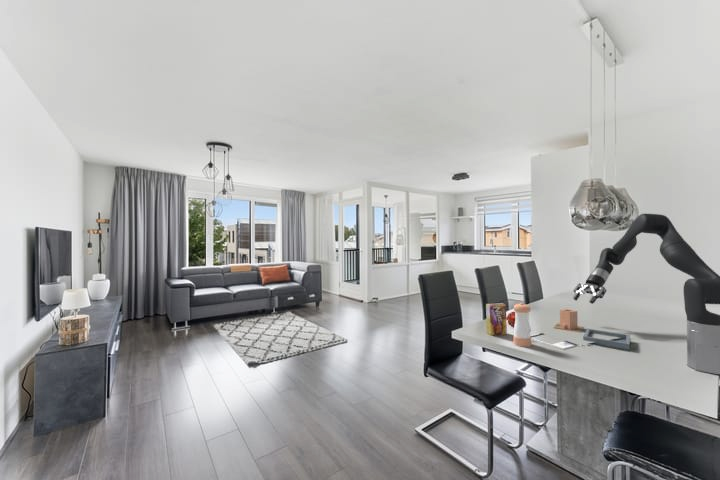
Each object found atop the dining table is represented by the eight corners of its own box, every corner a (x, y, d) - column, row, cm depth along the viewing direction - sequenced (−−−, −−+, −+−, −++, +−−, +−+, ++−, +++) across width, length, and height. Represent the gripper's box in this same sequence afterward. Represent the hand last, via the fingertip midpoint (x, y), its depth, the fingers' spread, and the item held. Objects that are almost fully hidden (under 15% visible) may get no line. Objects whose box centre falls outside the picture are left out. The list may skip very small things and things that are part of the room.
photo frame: (563, 347, 133) (525, 336, 149) (563, 350, 133) (525, 338, 149) (583, 342, 139) (545, 331, 155) (583, 345, 139) (545, 334, 155)
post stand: (581, 335, 151) (581, 318, 151) (553, 330, 159) (552, 314, 159) (584, 329, 160) (584, 313, 160) (557, 325, 168) (557, 310, 168)
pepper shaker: (521, 347, 136) (521, 304, 136) (509, 342, 143) (509, 301, 143) (535, 345, 138) (534, 303, 138) (522, 340, 145) (522, 300, 145)
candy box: (502, 332, 158) (502, 302, 158) (507, 334, 154) (506, 304, 154) (486, 332, 158) (485, 303, 157) (490, 335, 153) (490, 305, 153)
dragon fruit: (510, 325, 175) (523, 335, 163) (499, 317, 174) (511, 326, 162) (519, 313, 174) (532, 322, 162) (508, 305, 173) (521, 314, 161)
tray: (629, 351, 130) (629, 344, 130) (583, 342, 141) (583, 336, 140) (629, 341, 142) (629, 334, 142) (587, 334, 152) (587, 328, 152)
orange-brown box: (577, 328, 157) (577, 311, 157) (568, 329, 155) (567, 312, 155) (567, 325, 163) (567, 308, 163) (558, 326, 161) (558, 310, 161)
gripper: (581, 272, 172) (566, 294, 168) (608, 275, 158) (592, 298, 155) (587, 281, 173) (573, 302, 170) (615, 284, 160) (600, 308, 156)
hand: (582, 301), depth 162 cm, fingers open, 8 cm apart
